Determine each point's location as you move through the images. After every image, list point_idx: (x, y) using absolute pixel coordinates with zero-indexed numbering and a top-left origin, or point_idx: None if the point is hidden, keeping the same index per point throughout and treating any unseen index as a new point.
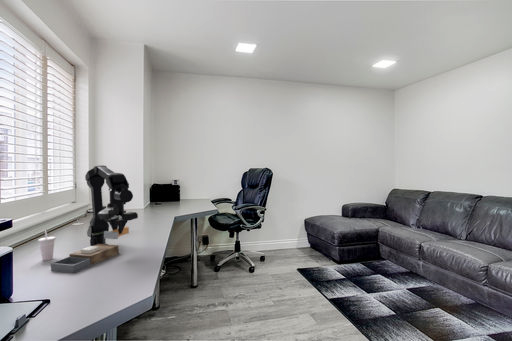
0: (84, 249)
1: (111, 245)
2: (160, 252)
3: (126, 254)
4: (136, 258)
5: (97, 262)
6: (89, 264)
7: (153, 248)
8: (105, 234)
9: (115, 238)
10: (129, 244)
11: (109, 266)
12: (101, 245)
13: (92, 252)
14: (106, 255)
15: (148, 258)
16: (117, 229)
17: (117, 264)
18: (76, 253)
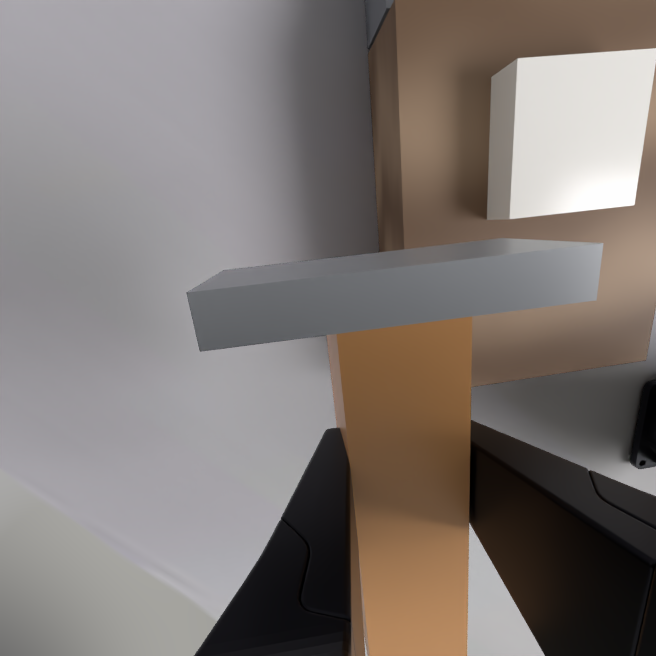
0: (605, 61)
1: (475, 367)
2: (54, 495)
3: (299, 368)
4: (116, 328)
5: (372, 131)
6: (371, 26)
7: (205, 534)
8: (507, 244)
9: (245, 270)
10: None
11: (161, 86)
12: (579, 334)
13: (487, 119)
14: (385, 238)
15: (7, 363)
16: (426, 493)
17: (137, 154)
18: (649, 29)
